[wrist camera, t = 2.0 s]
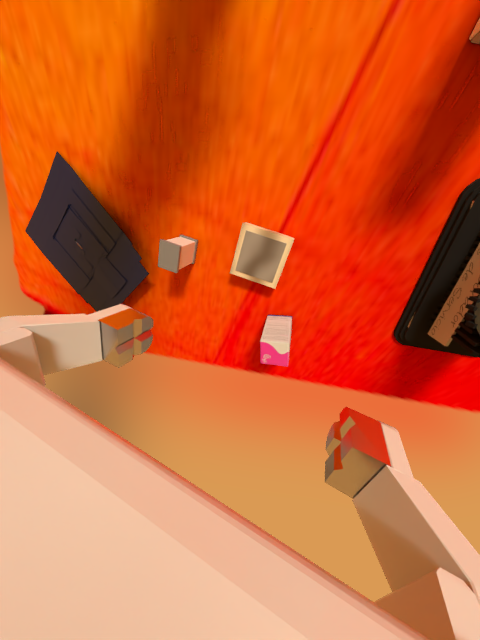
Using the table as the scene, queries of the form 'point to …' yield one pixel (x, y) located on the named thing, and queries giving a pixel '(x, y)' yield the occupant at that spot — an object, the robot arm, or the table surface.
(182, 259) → the plate
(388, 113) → the table surface
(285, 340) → the supplement box
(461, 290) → the award
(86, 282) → the dark grey panelled slab
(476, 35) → the hard drive box
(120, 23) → the table surface
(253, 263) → the oak stand
